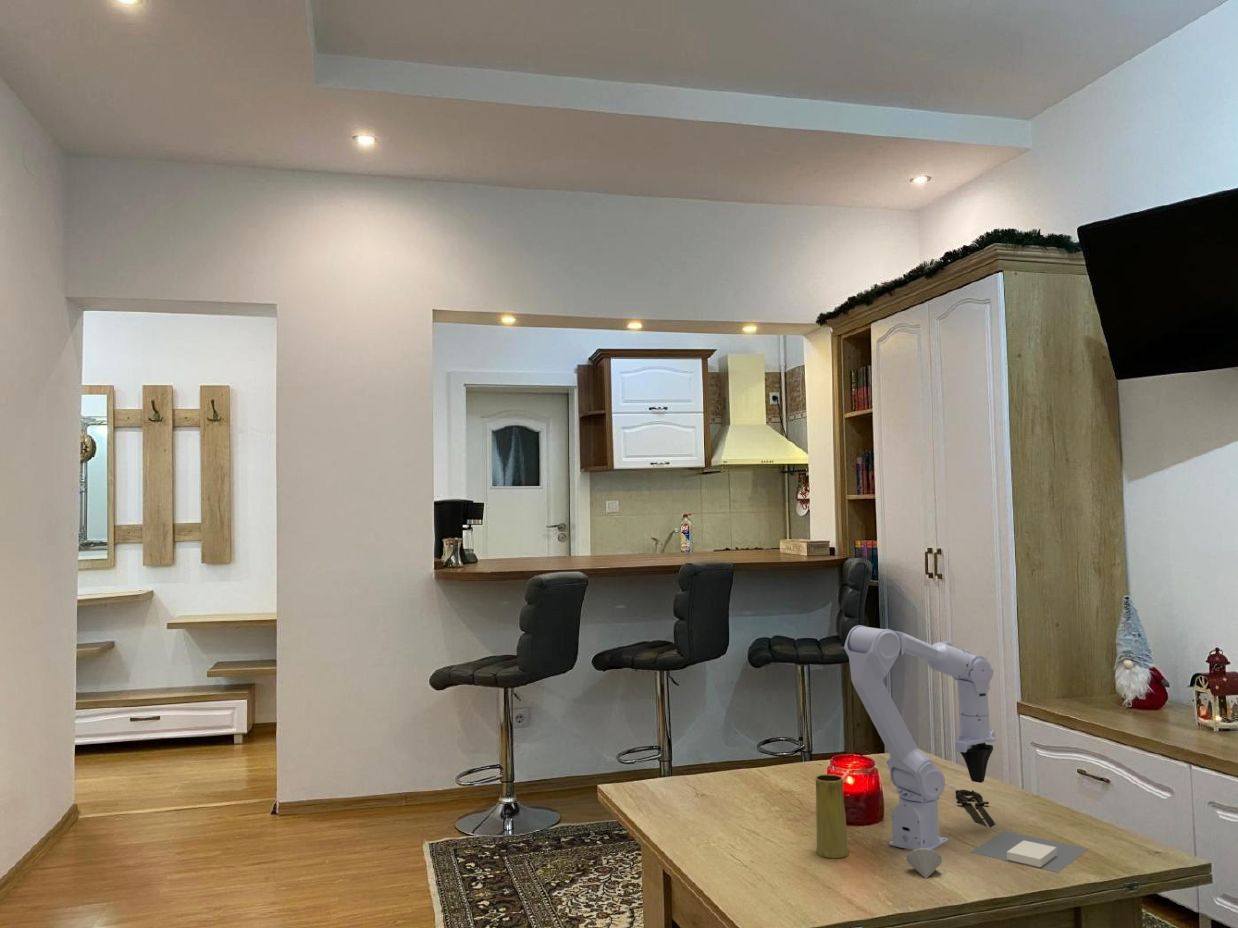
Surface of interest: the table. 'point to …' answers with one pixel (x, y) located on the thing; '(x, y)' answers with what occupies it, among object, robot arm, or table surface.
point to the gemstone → (924, 861)
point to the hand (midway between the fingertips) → (977, 781)
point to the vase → (830, 817)
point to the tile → (1031, 853)
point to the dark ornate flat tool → (980, 806)
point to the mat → (1008, 840)
